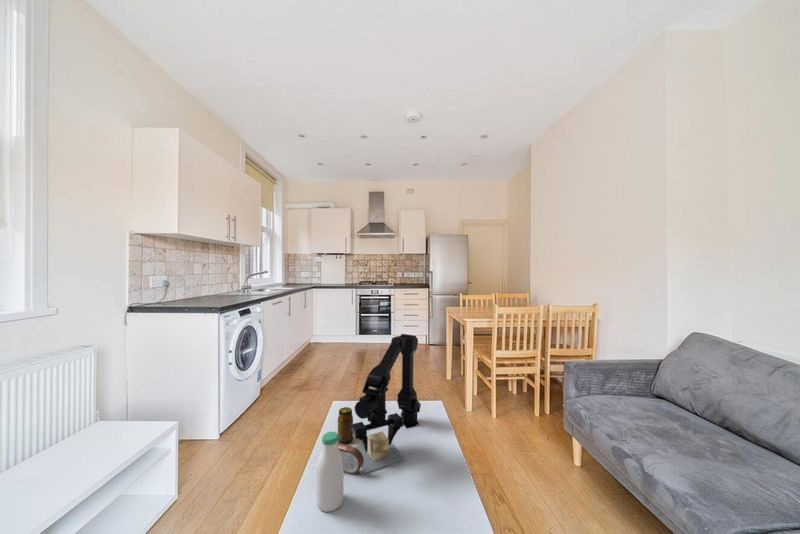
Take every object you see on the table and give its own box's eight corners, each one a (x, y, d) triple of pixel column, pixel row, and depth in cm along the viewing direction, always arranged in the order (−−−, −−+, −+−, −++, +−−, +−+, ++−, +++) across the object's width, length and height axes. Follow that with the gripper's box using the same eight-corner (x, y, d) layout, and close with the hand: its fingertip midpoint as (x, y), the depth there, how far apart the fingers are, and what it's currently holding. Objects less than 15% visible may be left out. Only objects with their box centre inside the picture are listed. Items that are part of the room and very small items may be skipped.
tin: (364, 471, 101) (364, 447, 101) (359, 478, 98) (359, 453, 98) (326, 462, 106) (326, 438, 106) (320, 467, 103) (320, 443, 103)
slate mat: (387, 438, 120) (387, 437, 120) (405, 460, 107) (405, 459, 107) (352, 448, 114) (352, 447, 114) (365, 473, 100) (365, 472, 100)
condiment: (348, 432, 125) (348, 404, 125) (359, 441, 118) (359, 412, 118) (332, 439, 120) (332, 409, 120) (343, 449, 114) (343, 418, 113)
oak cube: (382, 446, 114) (382, 431, 114) (388, 455, 109) (388, 439, 109) (367, 451, 111) (367, 435, 111) (373, 460, 106) (373, 444, 106)
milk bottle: (348, 501, 88) (348, 435, 88) (326, 517, 83) (326, 446, 83) (333, 488, 94) (333, 425, 93) (311, 502, 88) (311, 435, 88)
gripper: (391, 392, 121) (391, 430, 122) (347, 402, 113) (347, 442, 113) (404, 404, 111) (403, 445, 112) (356, 415, 103) (356, 460, 103)
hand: (377, 447), depth 110 cm, fingers open, 9 cm apart
